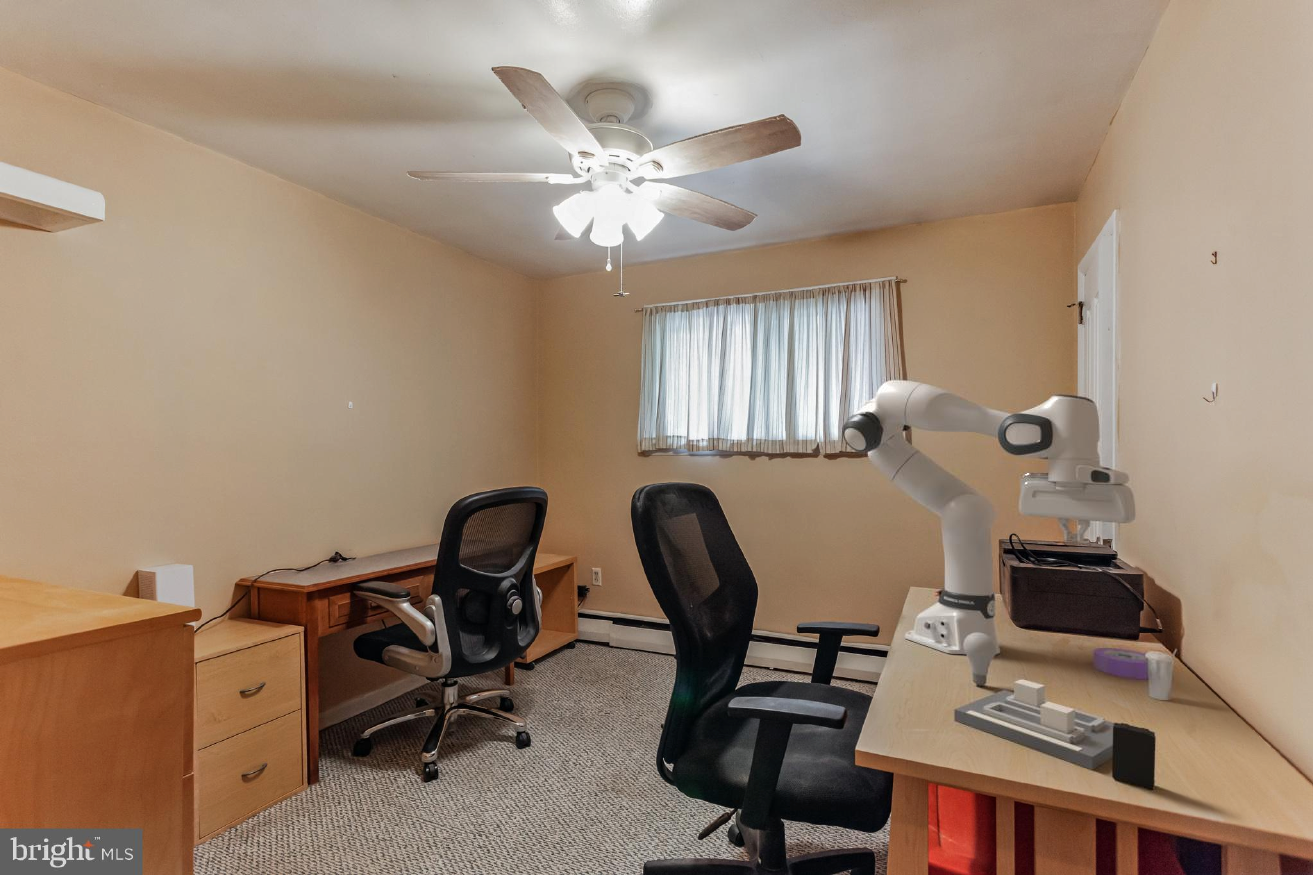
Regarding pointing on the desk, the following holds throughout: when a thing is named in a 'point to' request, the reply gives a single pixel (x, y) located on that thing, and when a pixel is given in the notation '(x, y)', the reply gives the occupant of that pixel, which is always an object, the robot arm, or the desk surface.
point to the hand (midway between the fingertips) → (1073, 541)
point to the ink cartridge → (1133, 755)
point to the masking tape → (1121, 662)
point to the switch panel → (1040, 729)
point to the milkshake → (1159, 674)
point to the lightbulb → (979, 655)
